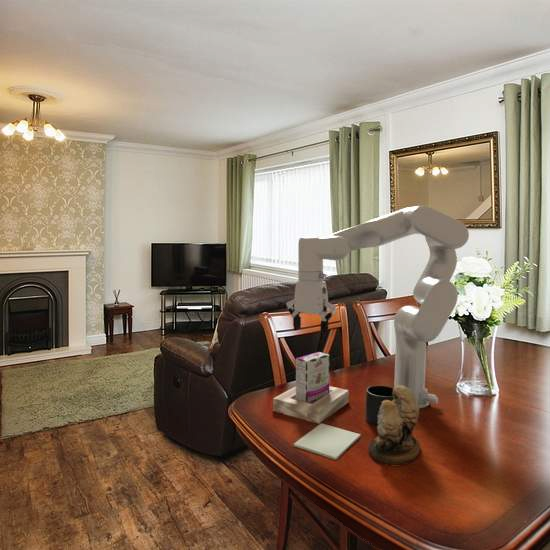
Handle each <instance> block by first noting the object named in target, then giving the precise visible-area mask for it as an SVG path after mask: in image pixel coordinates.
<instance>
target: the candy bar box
mask: <svg viewBox="0 0 550 550" xmlns="http://www.w3.org/2000/svg"><path fill="white" fill-rule="evenodd" d="M330 356H331V355H330V354H328V353H325V352H322V351H317V352H314V353H310V354H306V355H303V356H300V357H296V358H295V386H296V400H298V401H302V402H306V403H310V404H313V403H315V402H316V401H318V400H319V399H321V398H322V397H324V396H326V395H327V394H329V386H330Z"/></svg>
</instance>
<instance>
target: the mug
mask: <svg viewBox="0 0 550 550" xmlns="http://www.w3.org/2000/svg"><path fill="white" fill-rule="evenodd" d="M393 389H394V387H393V386H387V385H371V386H369V387H367V388H366V391H365V392H366V393H365V421H366V422H367V423H368V424H371V425H372V426H376V427H378V417H377V416H378V415H379V411H380V406H381V405H382V401H384V400H389V401H393V399H394V398H393V394H392V393H393Z"/></svg>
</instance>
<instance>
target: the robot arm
mask: <svg viewBox="0 0 550 550" xmlns="http://www.w3.org/2000/svg"><path fill="white" fill-rule="evenodd" d="M414 234H415V235H418V234H419V235H423V236H424V237H425V241H426V242H425V243H427V246H428V250H429V258H428V261H427V263H426V265H425V267H424V270H423V271H422V273H421V274H420V277H419V278H418V280H417V282H416V283H415V285H414V288H413V291H412V296H413V298H414V301H416V302H417V303H419V304H420V307H418V306H415V305H404V306H402V307H400V308H399V309H398V310H397V311H396V313H395V316H394V319H393V327H394V334H395V358H394V362H395V363H394V381H393V382H394V383H393V385H394V386H393V388H394V387H395V386H397V385H402V386H405V387H407V388H408V389H410V390H411V392H412V393H413V395H414V397H415V401H416V402H417V404H418V405H419V409H425V408H427V407H428V406H429V405H430V403H432V404H438V403H439V397H437V395H436V394H432V393H429V392H428V388H426V387H425V385H426V364H427V343H429V342H433V341H434V340H435V339H437V337H439V335H440V334H441V332H442V330H443V329H444V327H445V325H446V324H447V323H448V320H449V319H450V316H451V315H452V313H453V311H454V310H455V308H456V305H457V302H458V295H459V294H458V290H457V287H456V285H455V284H454V283H453V282H451V280H452V277H453V275H454V273H455V270H456V268H457V262H458V257H457V252H456V250H457V249H460V248H463V246H465V245H466V244H467V242H468V241H469V235H470V232H469V229H468V228H467V226H466V225H465V224H464V223H463V222H462V221H460V220H458V219H456V218H454V217H452V216H450V215H447V214H445V213H443V212H441V211H438V210H437V209H435V208H432V207H430V206H427V205H415V206H409V207H404V208H401V209H399V210H396V211H393V212H390V213H388V214H385V215H382V216H380V217H377V218H376V217H375V218H374V219H371V220H368V221H366V222H361V223H360V224H357V225H355V226H352V227H348V228H346V229H343V230H339V231H337V232H334V233H331V234H329V235H326V236H324V237H320V236H302V237H300V238H299V239H298V243H297V244H298V246H297V247H298V251H297V252H298V256H297V257H298V266H297V267H298V279H297V281H296V284H295V288H294V296H293V297H294V298H293V299H291V300H289V301H287V302H286V303H285V305H286V308H287V309H288V312H289V314H290V315H291V318H292V326H293V331H297V330H301V328H302V327H301V325H302V320H301V319H302V316H300V315H301V314H309V315H318V316H319V317H320V319H321V321H320V334H321V335H325V334H327V333H328V331H329V320H331V318H332V317H333V316H335V315H334V314H335V313H336V311H337V306H335V305H334V304H332V303H331V302H329V297H328V295H329V294H328V289H327V283H326V281H324V279H326V278H327V274H326V273H324V271H323V270H324V260H329V261H337V262H338V261H342V260H345V259H346V258H347V257H348V256H349V254H350V252H354V251H356V250H361V249H366V248H376V247H380V246H384V245H386V244H388V243H392V242H395V241H397V240H400V239H402V238H407V237H409V236H410V235H414ZM328 311H329V312H328Z"/></svg>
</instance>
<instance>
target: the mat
mask: <svg viewBox="0 0 550 550" xmlns="http://www.w3.org/2000/svg"><path fill="white" fill-rule="evenodd" d="M360 438H361V433H356V432H353V431H350V430H346V429H343V428H339V427H336V426H333V425H328V424H326V423H325V424H324V423H322V422H321V423H320V424H318V425H317V426H315V427H314V428H313V429H311V431H309V432H307V433H306V434H304V435H303V436H302V437H301V438H299V439H298V440H297V441H296V442H294V443H293V447H296V448H299V449H302V450H305V451H308V452H311V453H314V454H317V455H320V456H323V457H326V458H328V459H332V460H338V458H340V457H341V456H342V455H343V454H344V453H345V452H346V451H347V450H348V449H349V448H351V446H352V445H353V444H354V443H355V442H357V441H358V440H359V439H360Z"/></svg>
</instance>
